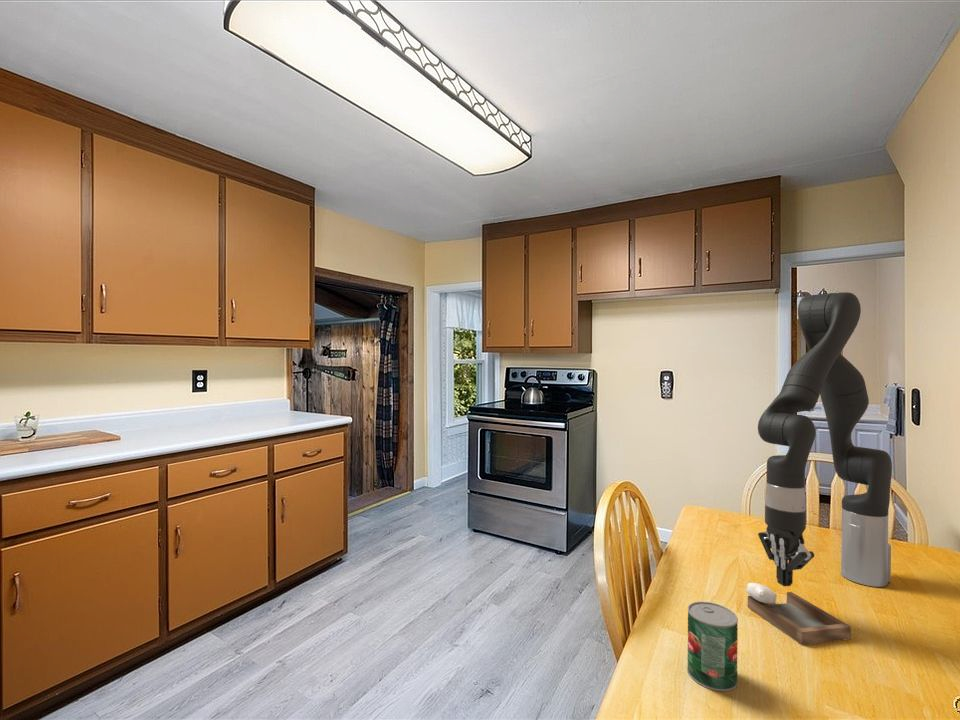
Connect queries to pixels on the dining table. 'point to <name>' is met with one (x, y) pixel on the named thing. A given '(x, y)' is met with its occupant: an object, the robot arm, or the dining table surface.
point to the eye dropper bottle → (761, 593)
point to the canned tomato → (712, 646)
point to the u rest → (802, 620)
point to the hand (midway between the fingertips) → (784, 584)
